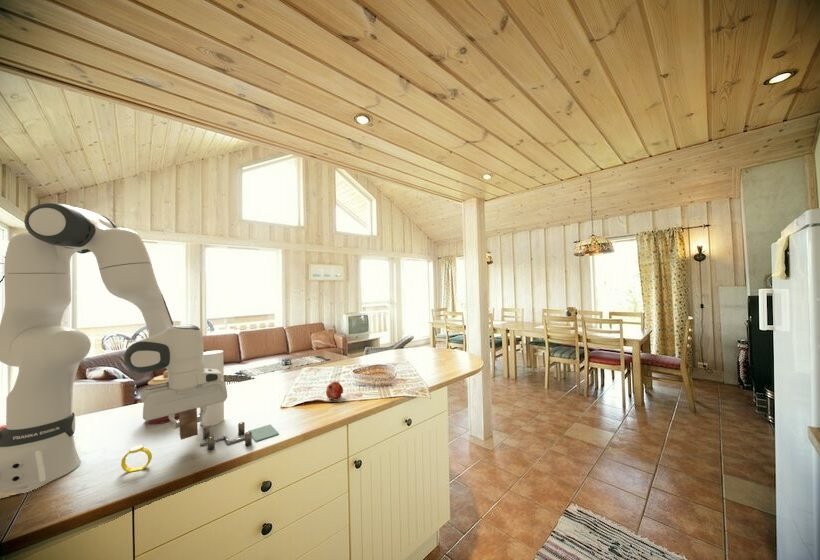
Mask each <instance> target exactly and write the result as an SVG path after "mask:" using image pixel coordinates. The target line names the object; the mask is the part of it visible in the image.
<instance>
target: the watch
mask: <svg viewBox="0 0 820 560" xmlns="http://www.w3.org/2000/svg"><path fill="white" fill-rule="evenodd" d="M138 452H143V453H145V454H146V456H147V462H146V464H145V465H143V466H140V467H134V468H132V467H130V466H128V465H127V463H126V458H127V457H128V455H130V454H136V453H138ZM152 458H153V457H152V452H151V451H150V449H148V448H147V447H144V445H142V444H140V445H136V446H133V447H131V448H130V449H129V450H128V452H126V454H125V455H124V456H123V457H122V459H121V461H120V463H121V464H120V465H121V469H122V470H123V471H125V472H127V473H133V472H138V471H143V470H144V469H145V468H147V467H148V466H149V464H150V463H151V460H152Z"/></svg>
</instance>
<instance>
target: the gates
mask: <svg viewBox="0 0 820 560" xmlns="http://www.w3.org/2000/svg"><path fill="white" fill-rule="evenodd" d="M202 427H203V428H202V440H205V441H207V444H206V447H207V451H208V450H210V451H212V450H215V448H216V447H215V445H216V444H215V442H216V441H215V439H216V438H215V435H211V431H210V429H211V427H210V426H202ZM245 427H246V426H245V422H244V421H242V422H241V421H240V422H239V423H238V425H237V428H238V430H237V431H238V432H237V433H238V434H237V435H238V436H243V435H244V437H245V439H244V446H246V447H249V446H252V445H253V438H252V432H248V431H247V432H245Z"/></svg>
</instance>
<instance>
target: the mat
mask: <svg viewBox="0 0 820 560" xmlns="http://www.w3.org/2000/svg"><path fill="white" fill-rule="evenodd" d="M247 432H252V440H253V441H254V442H255V443H257V442H260V441H264V440H266V439H270V438H272V437H275V436H276V437H277V436H278V435H280V433H279V431H277V430H276V428H274V426H273V425H271V424H266V425H263V426H260V427H258V428H257V427H256V428H254V429H250V430H248V431H247Z"/></svg>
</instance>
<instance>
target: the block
mask: <svg viewBox="0 0 820 560" xmlns="http://www.w3.org/2000/svg"><path fill="white" fill-rule="evenodd" d="M197 410H198V408H195V409H191V410H187V411H183V412H180V413H179V419H178V420H180V427H179V437H180V440H185V439H188V438H192V437H195V436H198V434H199V433H198V423H197V415H198V411H197Z"/></svg>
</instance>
